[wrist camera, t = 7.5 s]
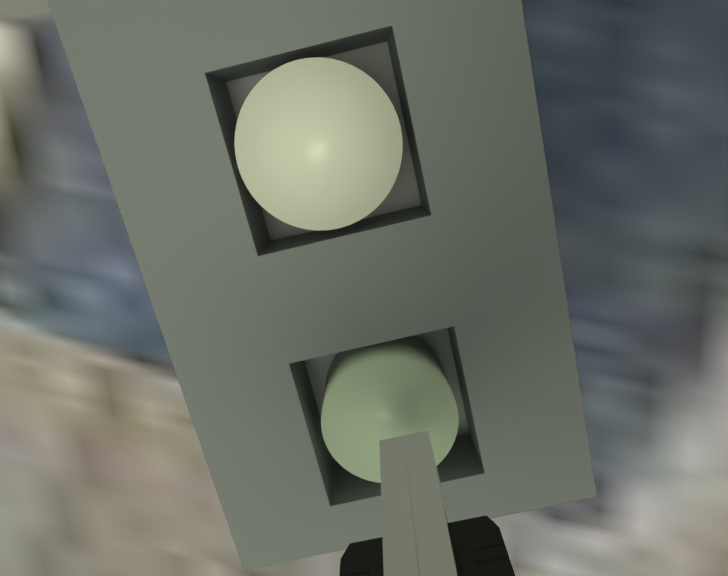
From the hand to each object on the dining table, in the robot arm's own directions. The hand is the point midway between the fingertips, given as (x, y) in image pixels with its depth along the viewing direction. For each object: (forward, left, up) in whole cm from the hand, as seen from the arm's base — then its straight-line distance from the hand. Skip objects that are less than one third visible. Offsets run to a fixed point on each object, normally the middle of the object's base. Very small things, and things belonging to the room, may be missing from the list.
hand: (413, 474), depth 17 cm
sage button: (+1, 0, -7) cm, 7 cm away
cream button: (+1, -10, -5) cm, 11 cm away
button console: (+1, -10, -10) cm, 14 cm away
